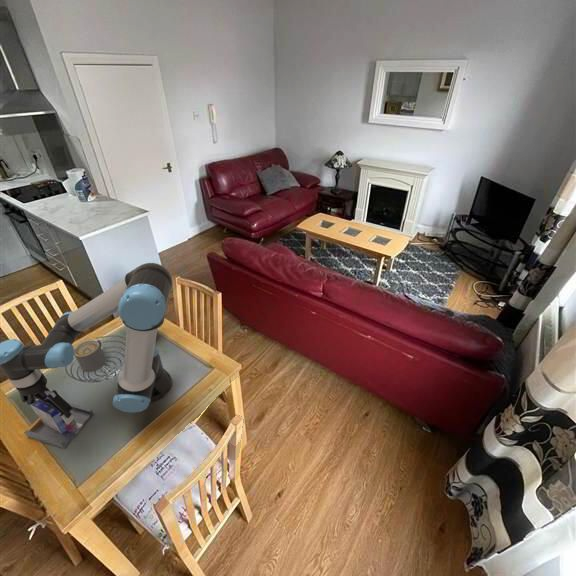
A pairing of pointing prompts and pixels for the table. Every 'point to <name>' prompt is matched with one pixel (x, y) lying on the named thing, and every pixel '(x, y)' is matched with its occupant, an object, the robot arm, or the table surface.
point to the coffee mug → (90, 355)
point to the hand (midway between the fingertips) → (56, 417)
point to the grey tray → (54, 437)
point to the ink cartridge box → (51, 417)
